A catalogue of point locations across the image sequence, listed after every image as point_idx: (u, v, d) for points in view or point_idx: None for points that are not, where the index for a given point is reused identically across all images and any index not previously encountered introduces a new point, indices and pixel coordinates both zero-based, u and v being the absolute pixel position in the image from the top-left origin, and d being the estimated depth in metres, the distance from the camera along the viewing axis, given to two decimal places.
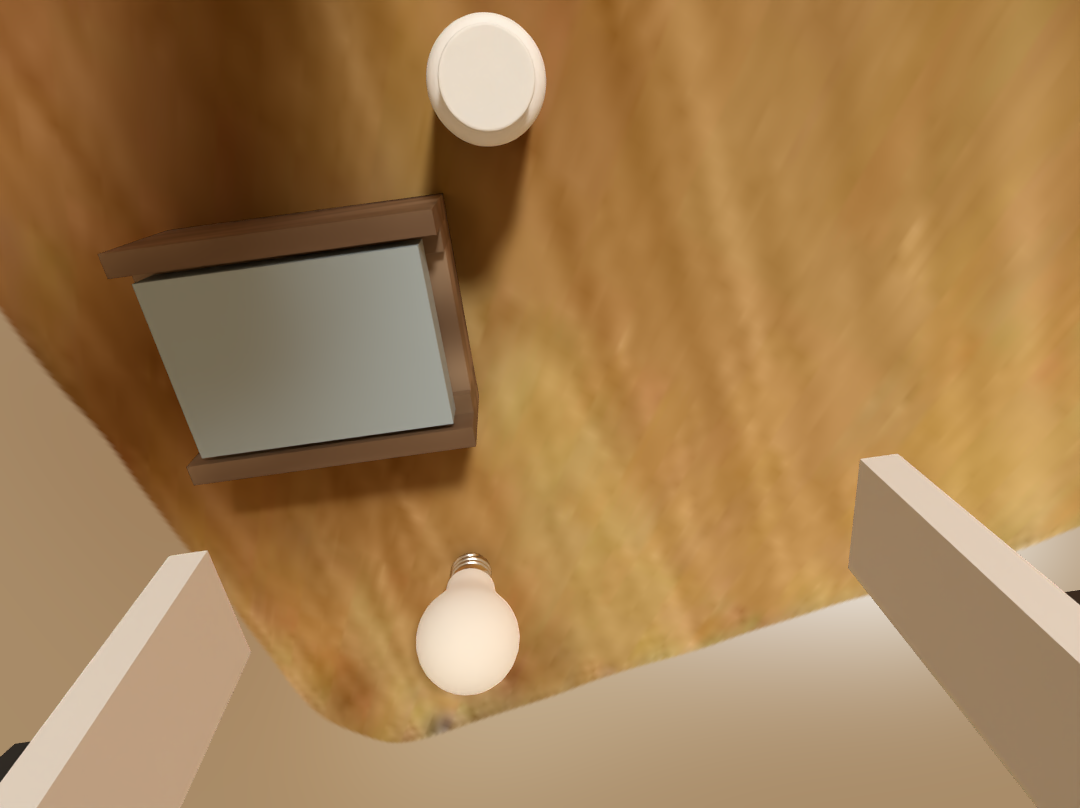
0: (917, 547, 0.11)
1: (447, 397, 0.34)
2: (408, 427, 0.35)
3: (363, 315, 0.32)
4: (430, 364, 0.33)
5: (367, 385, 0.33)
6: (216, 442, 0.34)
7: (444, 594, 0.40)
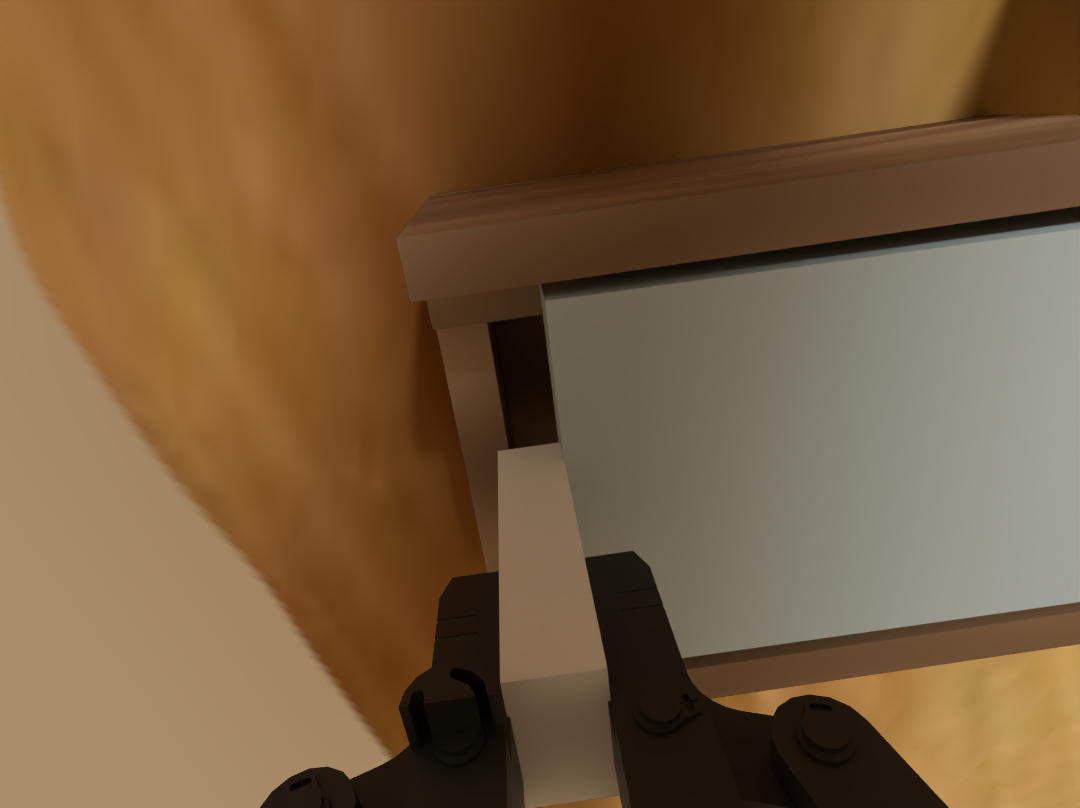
0: None
1: None
2: (1032, 604, 0.16)
3: (1055, 374, 0.13)
4: None
5: (990, 524, 0.15)
6: None
7: None
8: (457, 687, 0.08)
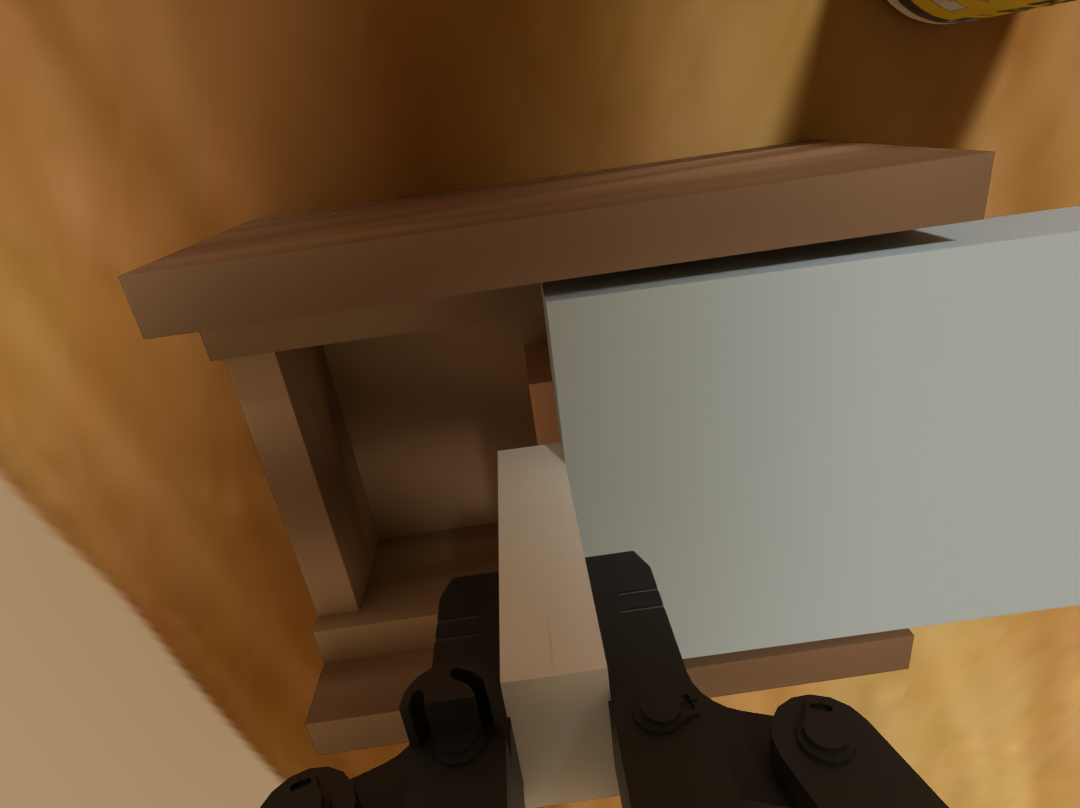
0: None
1: None
2: (1034, 606, 0.16)
3: (1057, 376, 0.13)
4: None
5: (991, 526, 0.15)
6: None
7: None
8: (457, 687, 0.08)
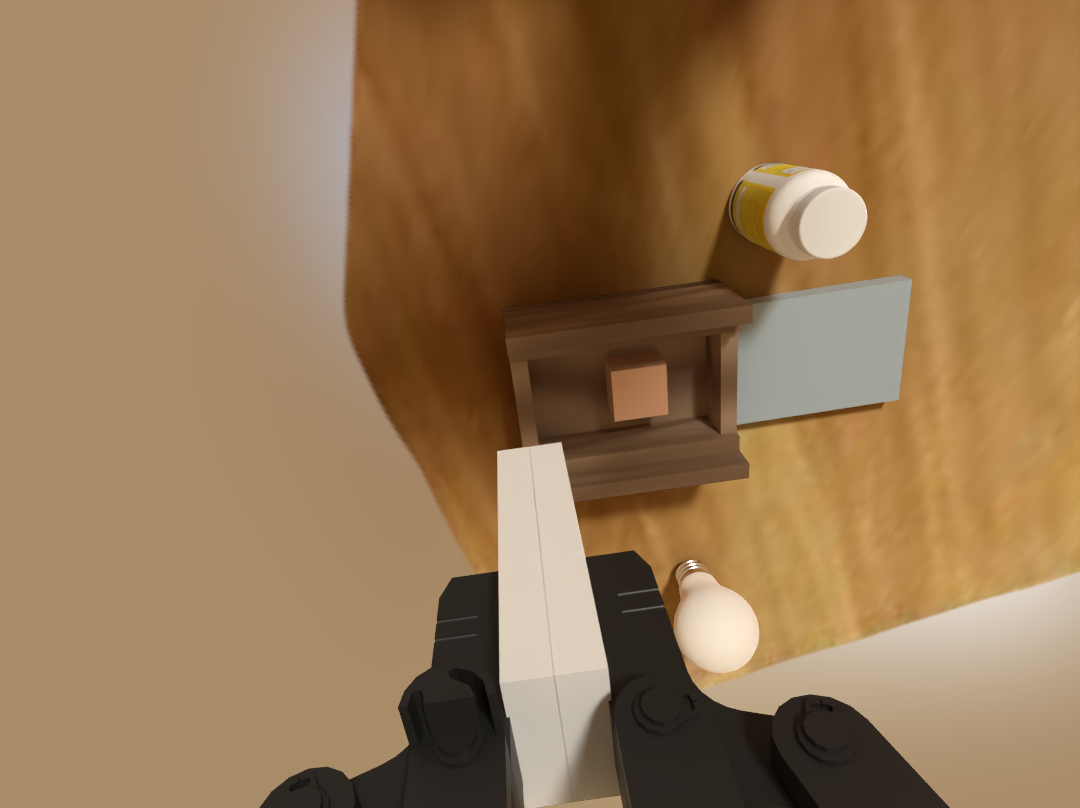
0: None
1: (899, 381, 0.49)
2: (868, 403, 0.50)
3: (863, 326, 0.47)
4: (895, 358, 0.48)
5: (850, 373, 0.49)
6: (739, 415, 0.50)
7: (697, 593, 0.50)
8: (457, 687, 0.08)
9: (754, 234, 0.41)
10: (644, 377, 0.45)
